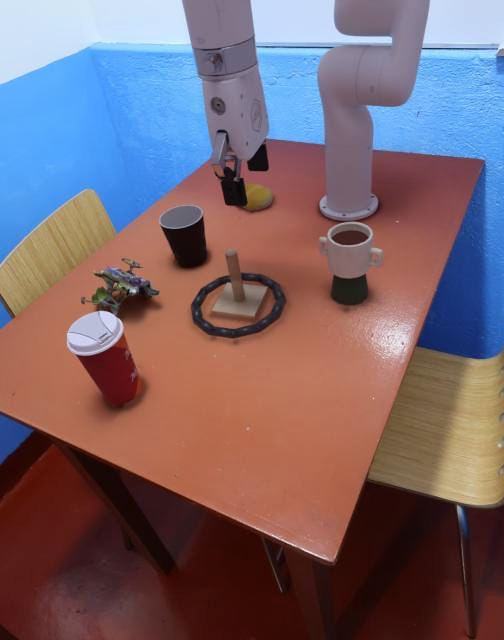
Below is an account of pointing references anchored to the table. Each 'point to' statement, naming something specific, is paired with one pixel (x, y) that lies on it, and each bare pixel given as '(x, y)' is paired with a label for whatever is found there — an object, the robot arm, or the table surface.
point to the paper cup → (105, 356)
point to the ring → (245, 330)
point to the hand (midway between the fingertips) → (248, 186)
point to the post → (238, 292)
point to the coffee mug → (185, 234)
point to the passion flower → (120, 286)
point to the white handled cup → (350, 260)
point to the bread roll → (257, 197)
